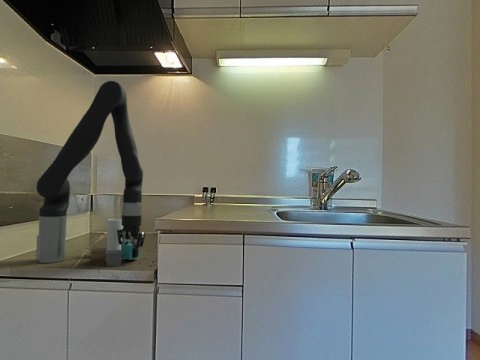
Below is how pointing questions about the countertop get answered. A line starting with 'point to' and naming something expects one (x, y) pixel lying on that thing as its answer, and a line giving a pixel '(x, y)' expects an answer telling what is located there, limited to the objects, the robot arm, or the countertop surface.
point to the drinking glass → (113, 233)
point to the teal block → (127, 251)
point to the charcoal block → (113, 258)
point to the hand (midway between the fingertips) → (130, 256)
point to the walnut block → (98, 256)
